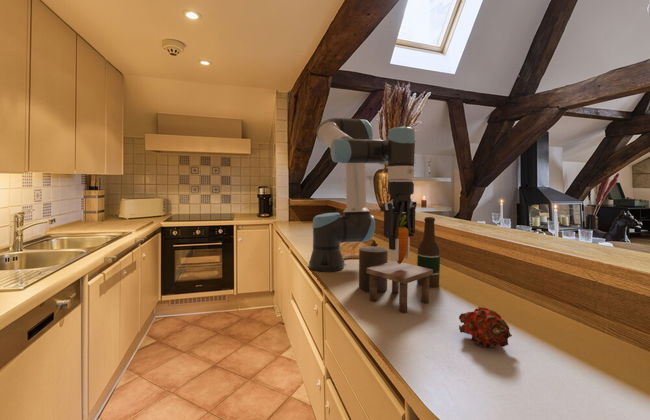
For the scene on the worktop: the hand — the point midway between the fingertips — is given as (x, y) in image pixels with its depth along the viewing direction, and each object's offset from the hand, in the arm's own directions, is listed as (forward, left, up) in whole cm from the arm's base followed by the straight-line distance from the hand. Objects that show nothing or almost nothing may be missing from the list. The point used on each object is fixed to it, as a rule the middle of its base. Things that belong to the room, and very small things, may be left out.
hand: (399, 258), depth 91 cm
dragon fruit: (+27, -6, -13) cm, 31 cm away
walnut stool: (0, 0, -13) cm, 13 cm away
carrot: (0, 0, -2) cm, 2 cm away
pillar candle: (-13, +3, -13) cm, 19 cm away
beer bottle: (-3, +21, -13) cm, 25 cm away
